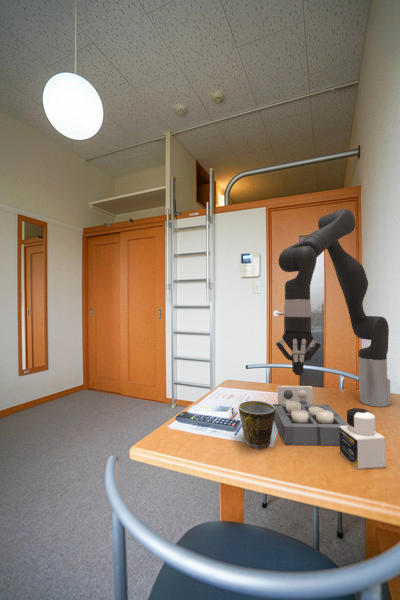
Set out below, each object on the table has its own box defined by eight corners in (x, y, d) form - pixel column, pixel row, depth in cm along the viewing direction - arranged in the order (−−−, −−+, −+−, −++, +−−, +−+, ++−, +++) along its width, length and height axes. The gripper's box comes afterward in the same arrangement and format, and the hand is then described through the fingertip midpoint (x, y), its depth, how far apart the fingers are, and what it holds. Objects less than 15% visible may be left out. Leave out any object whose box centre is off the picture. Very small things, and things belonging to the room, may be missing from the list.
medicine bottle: (339, 453, 71) (338, 406, 71) (365, 451, 72) (364, 405, 72) (357, 469, 64) (356, 417, 64) (386, 467, 64) (385, 416, 65)
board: (328, 419, 91) (328, 404, 91) (353, 446, 74) (352, 427, 74) (273, 419, 92) (272, 404, 92) (284, 444, 75) (284, 426, 76)
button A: (321, 415, 89) (321, 406, 89) (326, 421, 84) (326, 412, 84) (306, 415, 89) (306, 406, 89) (311, 421, 84) (311, 411, 84)
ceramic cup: (247, 431, 84) (246, 398, 84) (280, 439, 79) (279, 404, 79) (229, 451, 73) (228, 413, 73) (266, 462, 67) (265, 421, 68)
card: (312, 411, 98) (311, 386, 98) (313, 412, 97) (312, 387, 97) (277, 411, 99) (277, 385, 99) (278, 412, 98) (278, 386, 98)
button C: (298, 410, 89) (298, 401, 89) (303, 416, 85) (303, 406, 85) (284, 410, 90) (284, 401, 90) (287, 416, 85) (287, 406, 85)
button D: (305, 419, 82) (305, 409, 82) (310, 426, 78) (310, 415, 78) (289, 419, 83) (289, 409, 83) (294, 426, 78) (293, 415, 78)
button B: (329, 419, 82) (329, 409, 82) (336, 426, 77) (336, 416, 77) (313, 419, 82) (313, 409, 82) (319, 426, 77) (319, 415, 77)
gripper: (316, 315, 84) (316, 372, 84) (272, 314, 85) (272, 371, 85) (325, 315, 77) (325, 378, 76) (277, 315, 78) (277, 377, 77)
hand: (297, 374), depth 81 cm, fingers closed
